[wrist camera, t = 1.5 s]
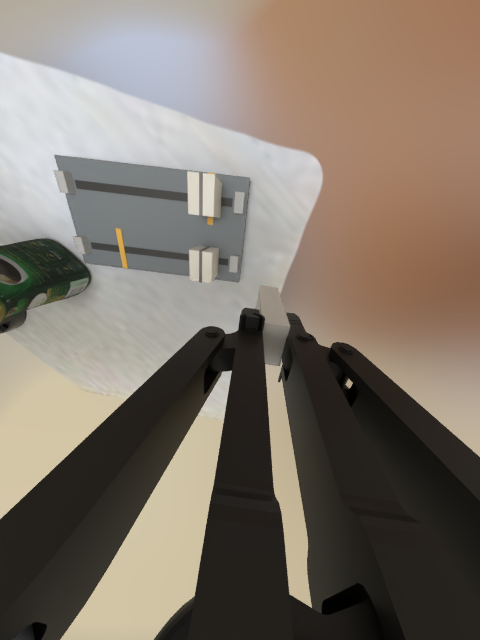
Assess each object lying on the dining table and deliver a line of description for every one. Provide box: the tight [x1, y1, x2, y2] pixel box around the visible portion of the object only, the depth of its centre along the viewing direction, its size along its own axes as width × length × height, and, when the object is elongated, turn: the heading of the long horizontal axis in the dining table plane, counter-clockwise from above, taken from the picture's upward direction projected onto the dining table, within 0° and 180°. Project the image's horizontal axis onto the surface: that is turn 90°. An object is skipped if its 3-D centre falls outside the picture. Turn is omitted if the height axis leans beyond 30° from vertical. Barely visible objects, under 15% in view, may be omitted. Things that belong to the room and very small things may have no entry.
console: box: [54, 155, 250, 282], centre depth 28 cm, size 26×14×3 cm, turn 84°
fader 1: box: [187, 171, 222, 218], centre depth 23 cm, size 3×4×5 cm
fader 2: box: [189, 246, 219, 283], centre depth 27 cm, size 3×4×5 cm
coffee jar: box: [0, 239, 89, 323], centre depth 25 cm, size 10×8×19 cm
